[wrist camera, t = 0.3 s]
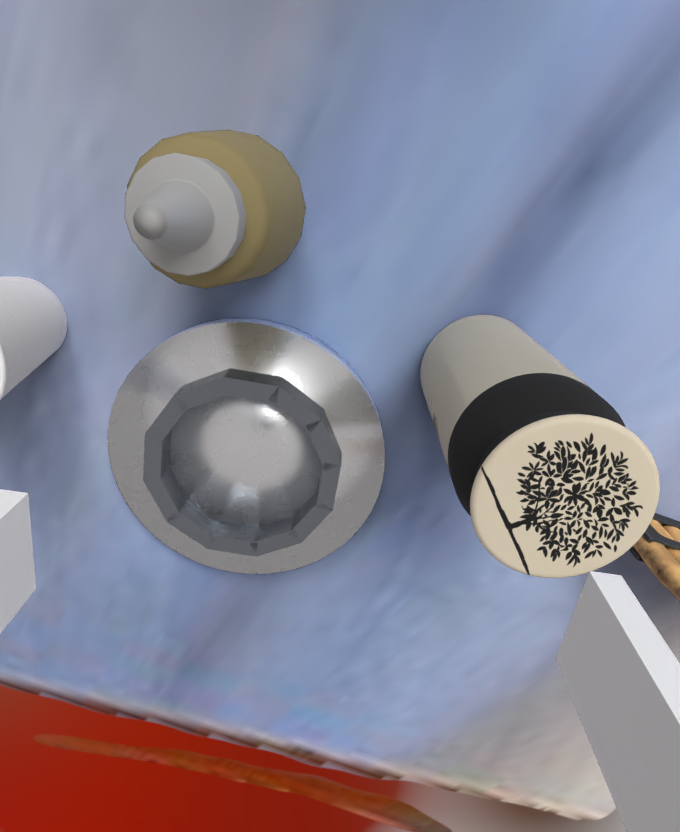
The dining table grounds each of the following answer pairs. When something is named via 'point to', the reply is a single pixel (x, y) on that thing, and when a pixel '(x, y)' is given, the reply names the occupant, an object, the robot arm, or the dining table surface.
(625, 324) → the dining table surface
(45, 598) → the dining table surface
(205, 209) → the squeeze bottle
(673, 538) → the ammunition clip
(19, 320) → the dixie cup
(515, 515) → the travel mug
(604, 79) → the dining table surface
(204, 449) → the rosette plate
